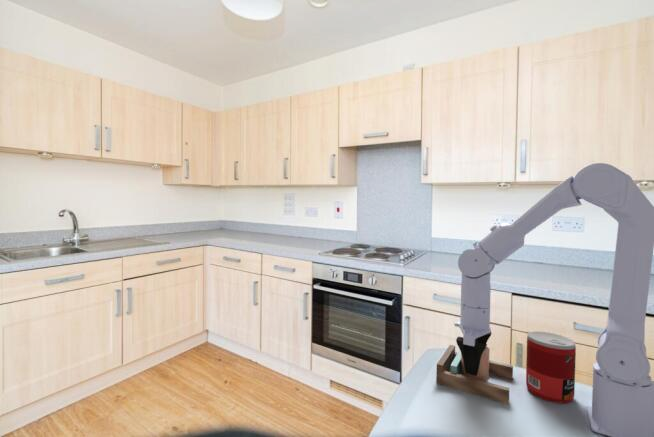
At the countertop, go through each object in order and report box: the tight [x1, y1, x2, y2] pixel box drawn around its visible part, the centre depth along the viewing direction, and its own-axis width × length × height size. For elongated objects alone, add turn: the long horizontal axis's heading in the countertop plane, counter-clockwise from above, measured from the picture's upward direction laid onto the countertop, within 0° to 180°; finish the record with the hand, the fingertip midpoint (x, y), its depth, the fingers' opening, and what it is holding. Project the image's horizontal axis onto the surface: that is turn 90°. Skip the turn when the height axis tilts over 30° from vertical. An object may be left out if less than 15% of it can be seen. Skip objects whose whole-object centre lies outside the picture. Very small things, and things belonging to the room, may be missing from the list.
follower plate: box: [450, 349, 461, 375], centre depth 71 cm, size 1×9×4 cm, turn 147°
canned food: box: [525, 331, 577, 404], centre depth 65 cm, size 8×8×11 cm
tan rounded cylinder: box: [461, 346, 491, 382], centre depth 69 cm, size 6×6×6 cm
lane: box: [435, 344, 514, 405], centre depth 69 cm, size 13×12×4 cm
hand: (473, 368), depth 69 cm, fingers closed on tan rounded cylinder, 5 cm apart
